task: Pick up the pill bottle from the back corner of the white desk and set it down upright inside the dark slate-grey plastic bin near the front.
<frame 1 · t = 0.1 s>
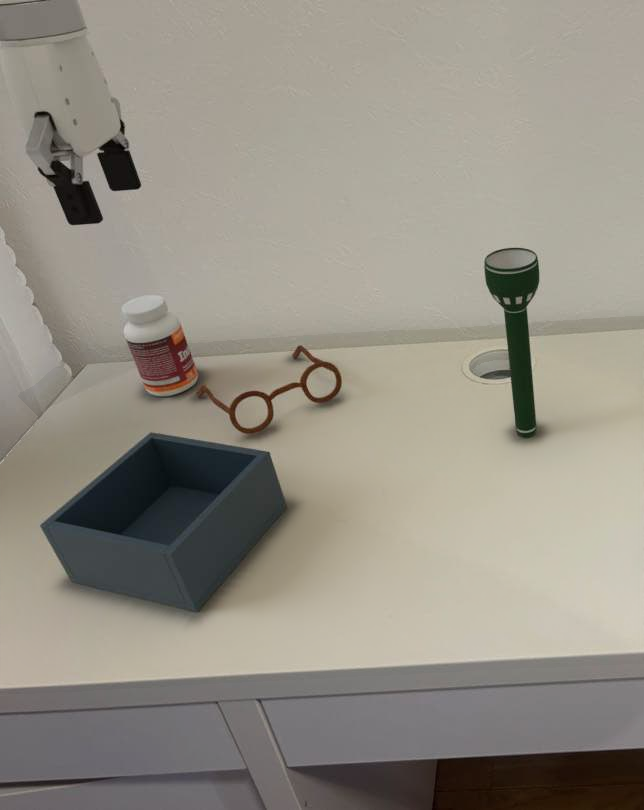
hand: (107, 205, 81), 24 cm above the table, tool pointing down, fingers open, 9 cm apart
glasses: (271, 397, 94), on the table
bin: (184, 542, 74), on the table
pill bottle: (174, 385, 98), on the table
flashlight: (526, 434, 85), on the table
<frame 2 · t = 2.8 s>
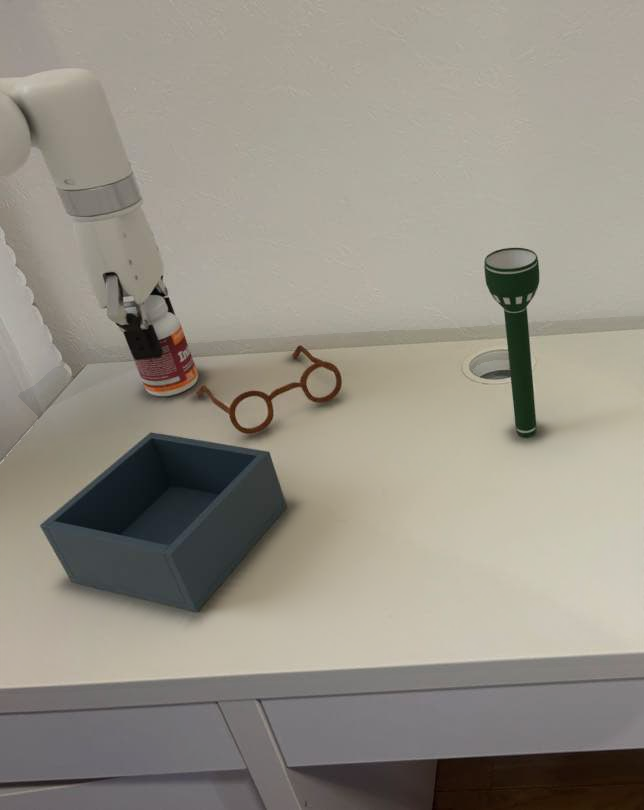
hand: (157, 341, 94), 6 cm above the table, tool pointing down, fingers closed on pill bottle, 6 cm apart
pill bottle: (174, 385, 98), on the table, touching gripper
everything else where it was.
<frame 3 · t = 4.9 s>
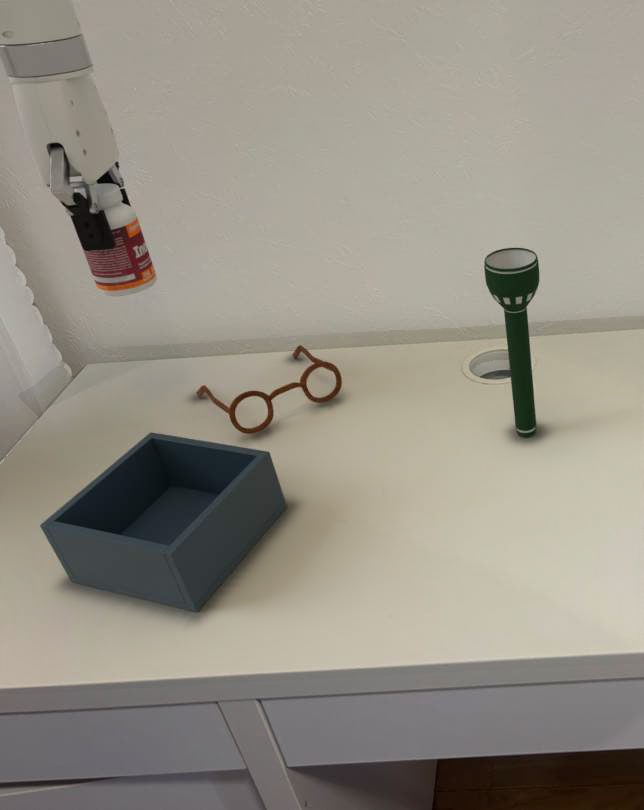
hand: (110, 235, 86), 20 cm above the table, tool pointing down, fingers closed on pill bottle, 6 cm apart
pill bottle: (129, 287, 90), point 13 cm above the table, touching gripper
everything else where it was.
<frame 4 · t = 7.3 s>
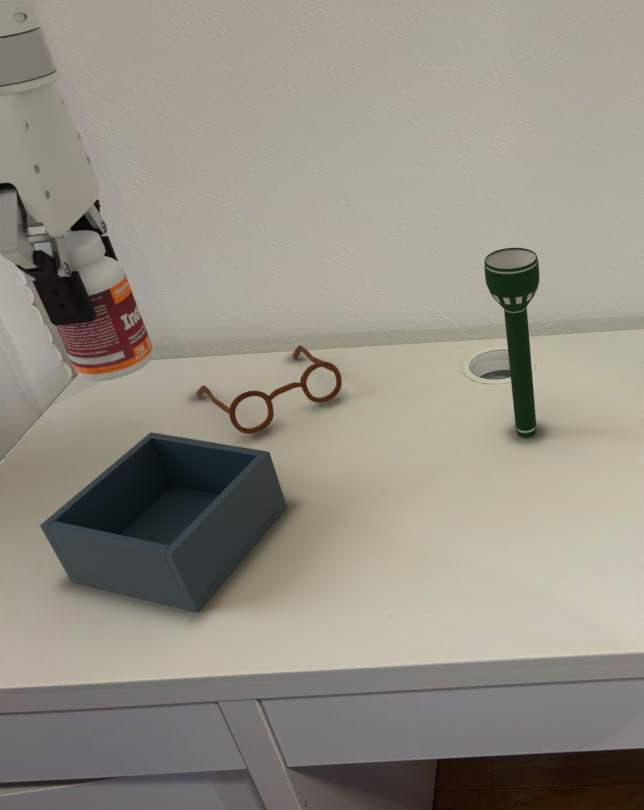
hand: (90, 300, 64), 23 cm above the table, tool pointing down, fingers closed on pill bottle, 6 cm apart
pill bottle: (118, 365, 68), point 17 cm above the table, touching gripper
everything else where it was.
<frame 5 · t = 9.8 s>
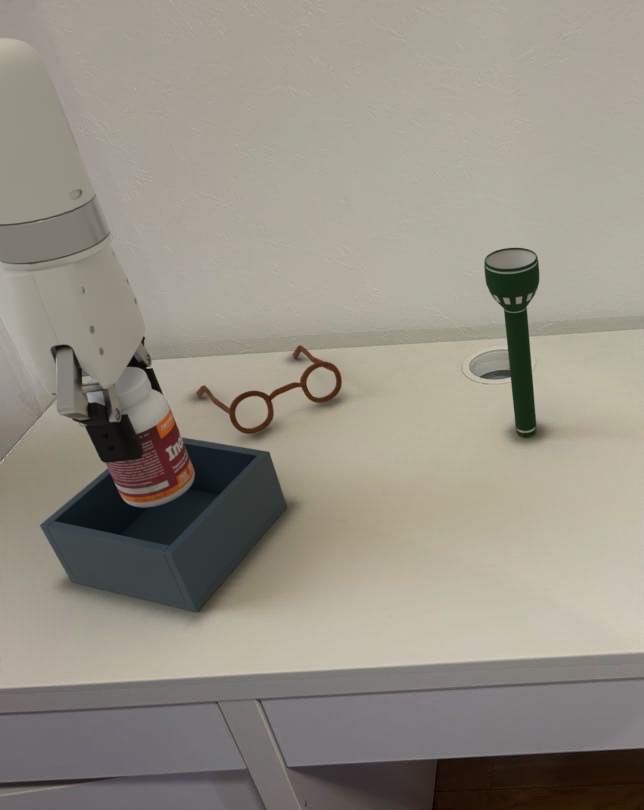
hand: (135, 431, 67), 13 cm above the table, tool pointing down, fingers closed on pill bottle, 6 cm apart
pill bottle: (161, 488, 70), point 7 cm above the table, touching gripper
everything else where it was.
when the fingers open (7 cm above the table, at t = 11.7 s): pill bottle stays where it is, resting on bin.
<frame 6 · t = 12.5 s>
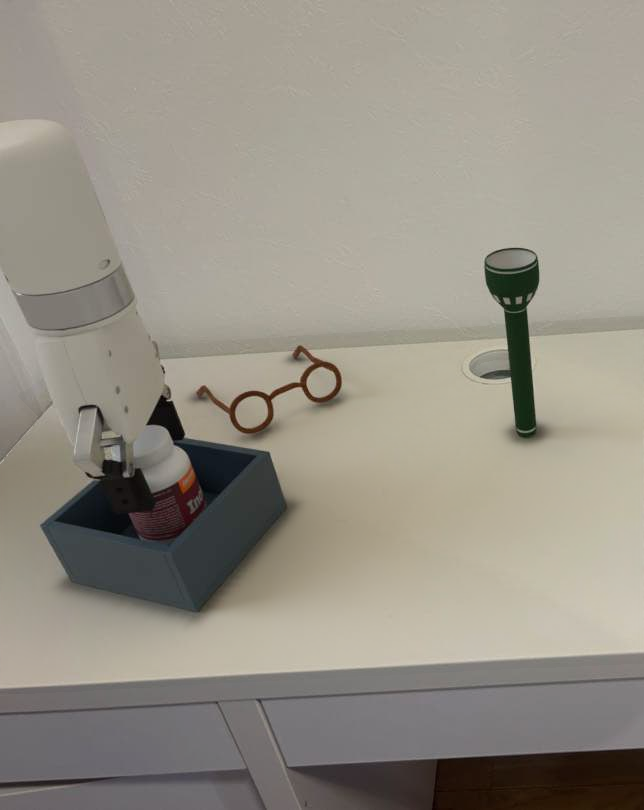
hand: (153, 473, 69), 8 cm above the table, tool pointing down, fingers open, 9 cm apart
pill bottle: (181, 537, 74), point 1 cm above the table, touching bin
everything else where it was.
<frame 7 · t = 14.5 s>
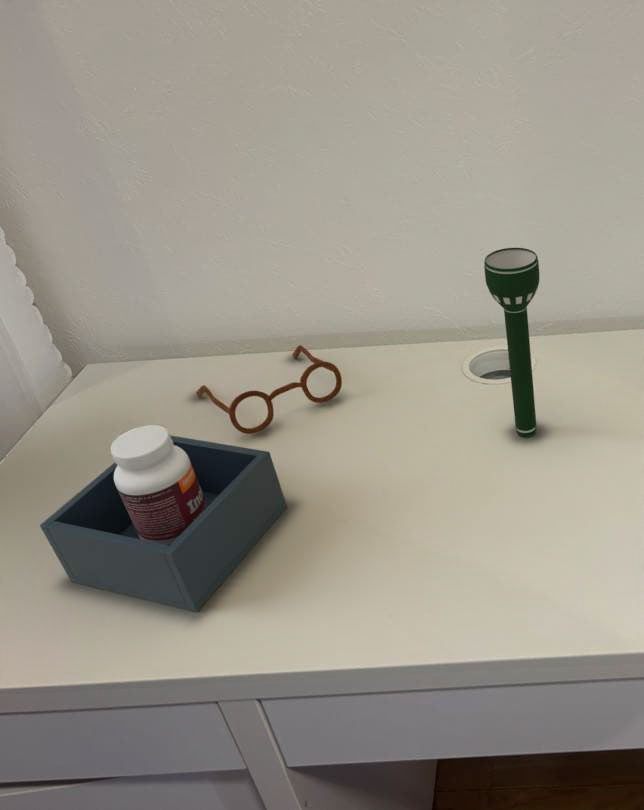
nothing on the table moved.
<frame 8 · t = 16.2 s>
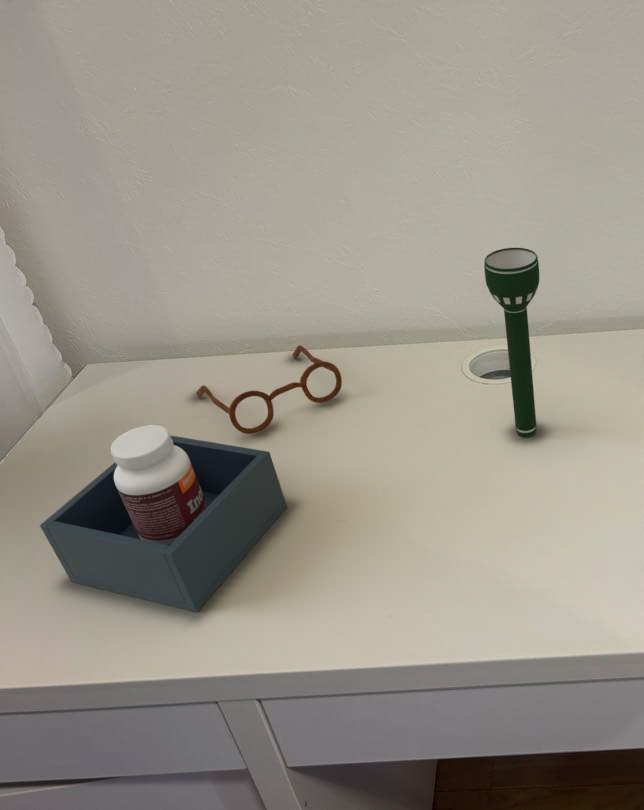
nothing on the table moved.
at the end: pill bottle inside the target area in the bin (0.1 cm from its centre), point 0.6 cm above the bin's base; pill bottle tilted 0°; the gripper is holding nothing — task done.
